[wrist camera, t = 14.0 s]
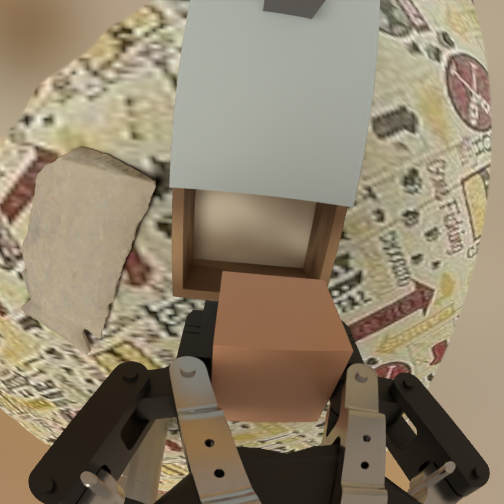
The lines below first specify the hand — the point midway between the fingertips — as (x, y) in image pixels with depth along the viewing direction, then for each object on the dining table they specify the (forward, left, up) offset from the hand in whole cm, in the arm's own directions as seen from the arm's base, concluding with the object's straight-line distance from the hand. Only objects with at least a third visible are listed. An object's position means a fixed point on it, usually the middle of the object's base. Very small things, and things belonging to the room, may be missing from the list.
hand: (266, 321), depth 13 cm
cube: (0, 0, 0) cm, 0 cm away
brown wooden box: (+3, 0, -14) cm, 15 cm away
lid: (+12, 0, -8) cm, 14 cm away
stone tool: (-6, +19, -15) cm, 25 cm away
